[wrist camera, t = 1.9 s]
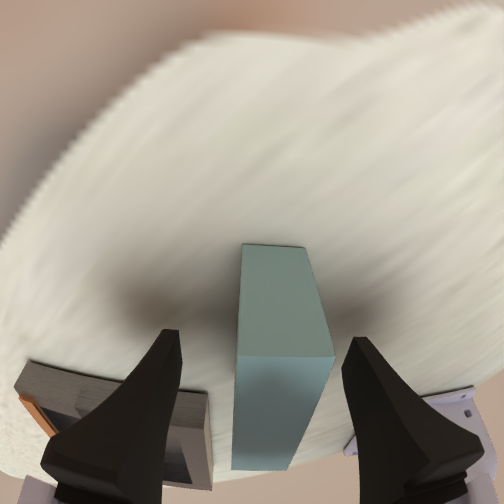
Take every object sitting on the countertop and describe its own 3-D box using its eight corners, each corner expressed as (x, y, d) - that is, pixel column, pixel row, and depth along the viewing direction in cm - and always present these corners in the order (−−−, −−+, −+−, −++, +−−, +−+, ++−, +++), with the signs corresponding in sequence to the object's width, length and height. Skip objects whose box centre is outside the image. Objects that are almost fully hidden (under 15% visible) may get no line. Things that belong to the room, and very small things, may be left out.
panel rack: (207, 394, 17) (203, 434, 14) (213, 467, 23) (211, 493, 20) (27, 361, 16) (11, 390, 14) (83, 444, 22) (76, 467, 20)
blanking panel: (305, 248, 12) (336, 356, 7) (279, 378, 16) (286, 470, 11) (242, 244, 12) (237, 355, 7) (234, 377, 16) (231, 469, 11)
